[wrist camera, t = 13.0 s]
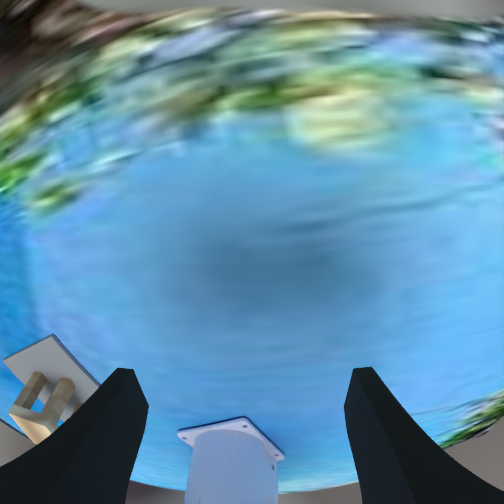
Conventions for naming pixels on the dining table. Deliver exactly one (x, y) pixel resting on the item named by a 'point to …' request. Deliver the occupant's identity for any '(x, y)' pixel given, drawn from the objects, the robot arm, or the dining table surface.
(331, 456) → the dining table surface
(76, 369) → the slate mat
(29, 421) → the wooden u-frame
